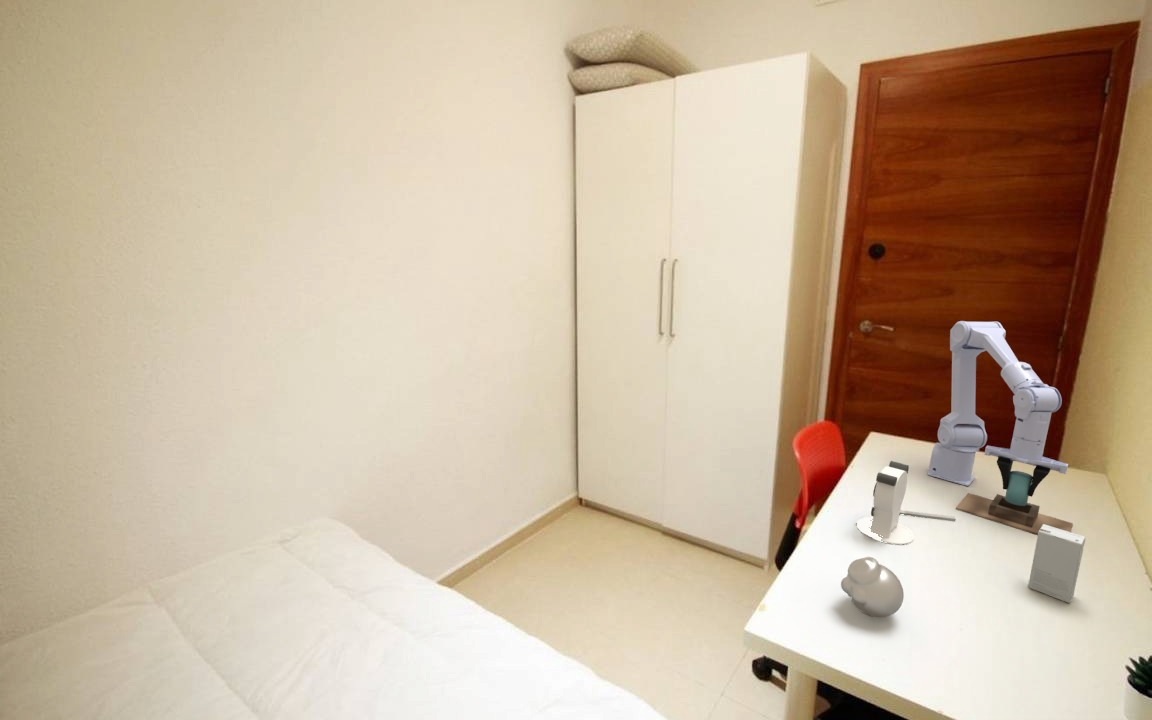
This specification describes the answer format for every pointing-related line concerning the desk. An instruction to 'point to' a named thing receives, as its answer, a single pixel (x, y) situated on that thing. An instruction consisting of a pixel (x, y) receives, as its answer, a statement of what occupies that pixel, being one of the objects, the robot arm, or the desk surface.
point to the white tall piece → (890, 504)
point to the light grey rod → (928, 515)
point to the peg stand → (1010, 513)
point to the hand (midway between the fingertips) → (1017, 491)
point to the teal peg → (1018, 488)
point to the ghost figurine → (873, 588)
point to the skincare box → (1056, 562)
